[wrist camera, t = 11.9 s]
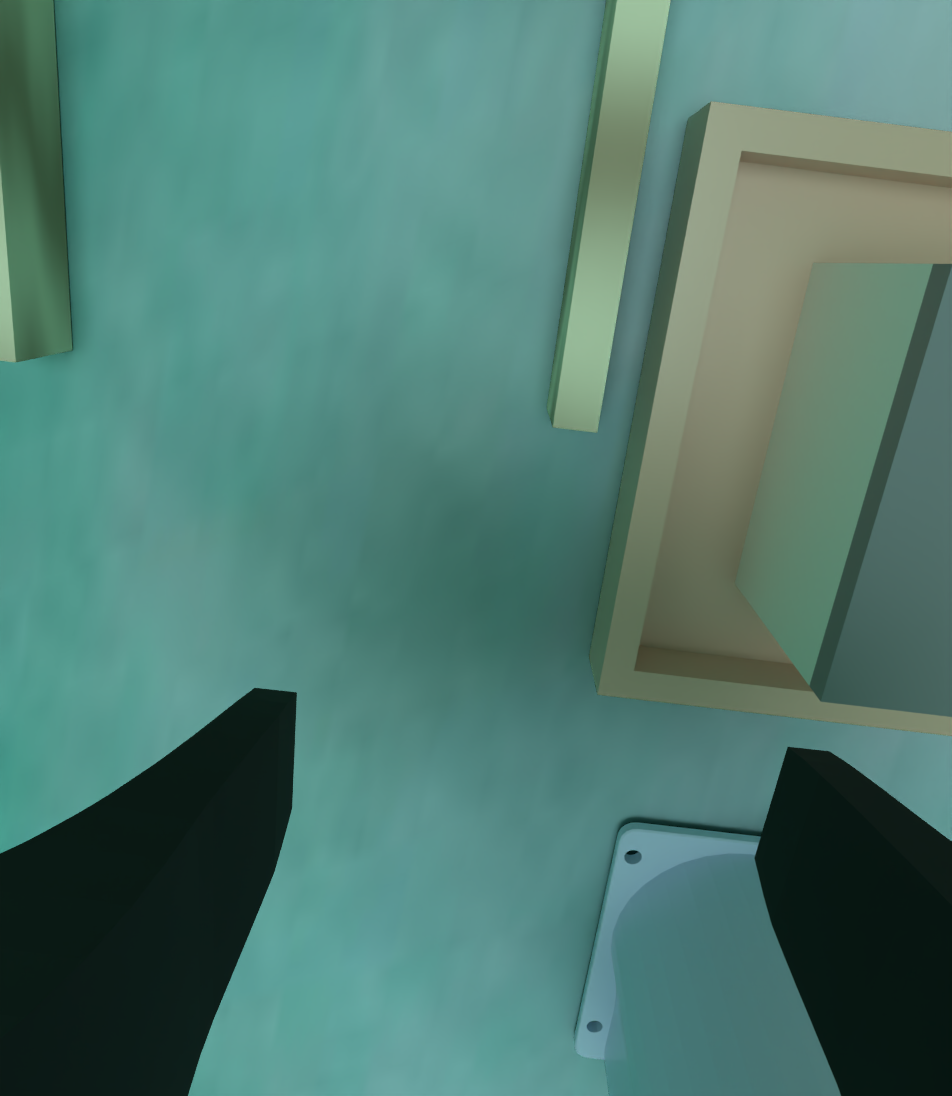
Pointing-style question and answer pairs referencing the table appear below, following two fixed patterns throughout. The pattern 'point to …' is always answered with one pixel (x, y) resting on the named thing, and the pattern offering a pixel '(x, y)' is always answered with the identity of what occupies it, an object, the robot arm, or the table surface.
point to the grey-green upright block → (862, 491)
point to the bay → (596, 245)
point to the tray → (744, 390)
